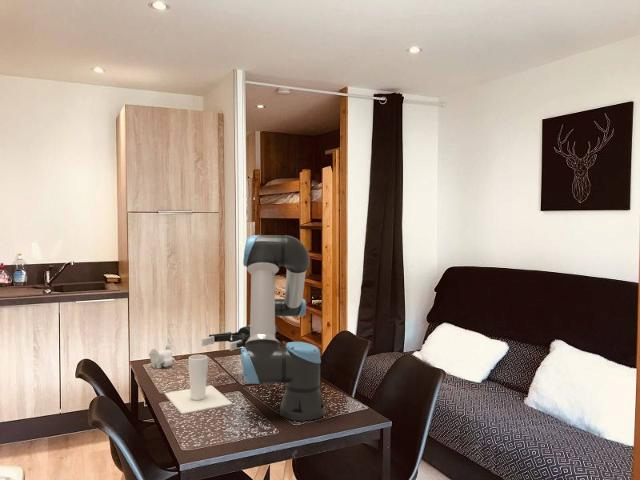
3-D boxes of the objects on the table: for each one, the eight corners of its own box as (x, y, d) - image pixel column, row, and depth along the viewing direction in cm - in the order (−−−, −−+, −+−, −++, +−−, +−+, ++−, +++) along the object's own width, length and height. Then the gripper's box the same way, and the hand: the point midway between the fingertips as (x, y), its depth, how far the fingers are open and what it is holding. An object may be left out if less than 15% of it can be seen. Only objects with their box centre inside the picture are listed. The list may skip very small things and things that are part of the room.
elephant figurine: (163, 372, 211) (163, 351, 211) (144, 367, 217) (144, 347, 217) (180, 366, 219) (180, 346, 219) (161, 362, 225) (161, 342, 225)
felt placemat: (232, 404, 175) (232, 403, 175) (181, 414, 165) (181, 413, 165) (211, 386, 194) (211, 385, 194) (164, 394, 184) (164, 393, 184)
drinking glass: (197, 393, 184) (198, 353, 184) (211, 397, 181) (211, 356, 180) (184, 399, 178) (184, 357, 178) (197, 402, 175) (198, 360, 174)
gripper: (274, 347, 201) (242, 359, 182) (226, 340, 213) (191, 350, 194) (274, 328, 201) (242, 338, 182) (226, 322, 213) (191, 331, 194)
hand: (216, 344), depth 188 cm, fingers open, 13 cm apart
